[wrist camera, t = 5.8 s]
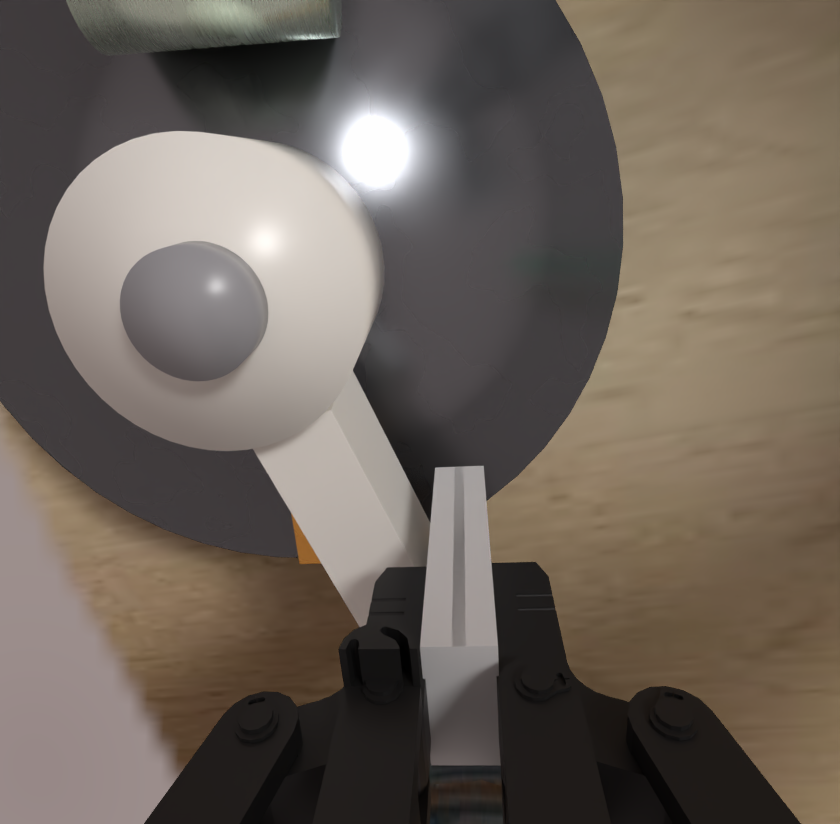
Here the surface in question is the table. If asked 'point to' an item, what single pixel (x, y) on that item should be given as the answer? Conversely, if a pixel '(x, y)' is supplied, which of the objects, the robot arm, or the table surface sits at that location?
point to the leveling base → (379, 190)
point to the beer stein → (466, 794)
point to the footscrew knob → (240, 327)
